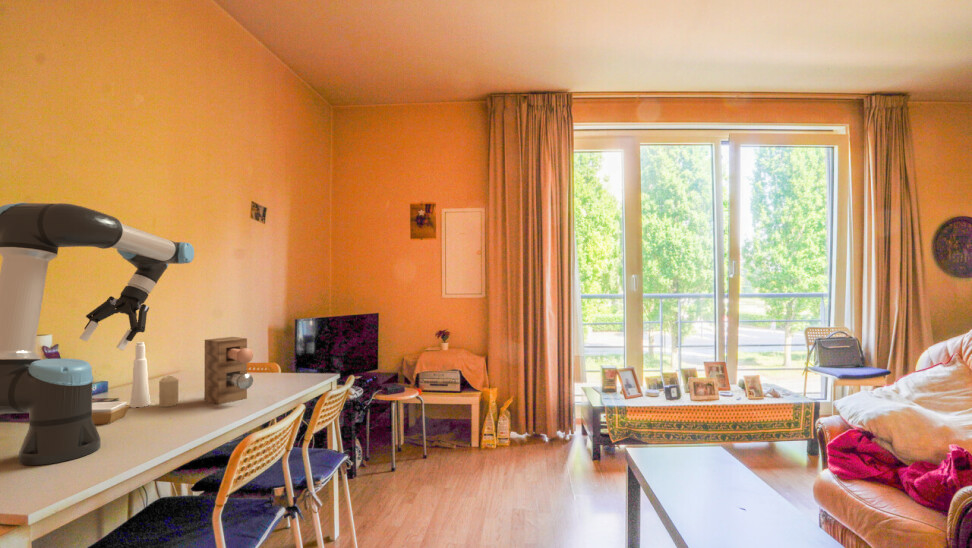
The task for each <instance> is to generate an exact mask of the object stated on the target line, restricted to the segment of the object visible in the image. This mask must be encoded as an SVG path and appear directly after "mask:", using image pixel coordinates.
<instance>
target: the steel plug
mask: <svg viewBox="0 0 972 548" xmlns="http://www.w3.org/2000/svg"><path fill="white" fill-rule="evenodd" d="M226 383H228V384H232V385H237V386H238V387H239V388H241V389H247V390H248V389H250V388H251V387H252V386H253V383H254V377H253V376H252V374H248V373H247V374H242V375H239V374H234V373H227V374H226Z"/></svg>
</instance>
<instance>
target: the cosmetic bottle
mask: <svg viewBox="0 0 972 548" xmlns="http://www.w3.org/2000/svg"><path fill="white" fill-rule="evenodd" d="M134 354H135V358H134V360H133V366H132V367H133V368H132V383H131V384H132V386H131V395H130V401H129V405H130V407H131V408H132V409H134V408H135V409H137V408H136V407H139V408H144V406H145V407H148V405H149V406H151V404H152V402H151V397H150V389H149V388H150V387H149V374H148V373H149V372H148V369H149V368H148V360H147V358H146V345H145V341H138V342H136V345H135V353H134ZM130 407H129V408H130Z"/></svg>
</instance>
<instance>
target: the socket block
mask: <svg viewBox="0 0 972 548" xmlns="http://www.w3.org/2000/svg"><path fill="white" fill-rule="evenodd" d="M227 348H234V349H243V348H248V338H246V337H237V336H228V337H227V336H225V337H217V338H208V339H207V338H206V339H204V396H203V397H204V400H205V401H204V402H208V401H209V403H212V402H213V404H215V403H216V404H217V405H222V403H223V404H228V403H231V401H232V402H236V401H240V400H246V399H248V389H241V388H239V387H238V386H237V385H232V384H228V383H226V374H227V373H234V374H239V375H242V374H248V363H240V362H239V361H238V360H234V359H228V358H226V349H227ZM227 402H228V403H227Z"/></svg>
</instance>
